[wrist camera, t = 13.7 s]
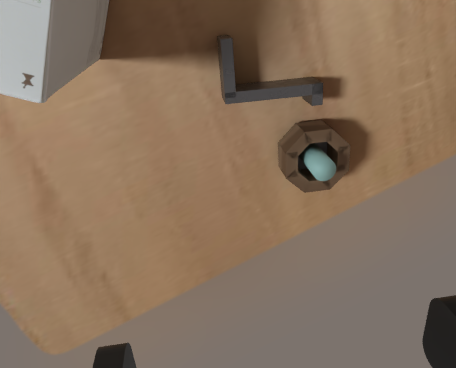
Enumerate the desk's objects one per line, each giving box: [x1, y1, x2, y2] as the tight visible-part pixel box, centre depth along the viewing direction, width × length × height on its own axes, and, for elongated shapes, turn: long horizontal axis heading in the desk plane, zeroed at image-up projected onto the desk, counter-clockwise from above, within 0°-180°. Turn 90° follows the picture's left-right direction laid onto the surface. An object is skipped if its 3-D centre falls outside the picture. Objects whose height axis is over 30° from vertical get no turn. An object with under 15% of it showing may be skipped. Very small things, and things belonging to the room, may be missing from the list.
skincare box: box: [0, 0, 109, 103], centre depth 26 cm, size 8×7×16 cm
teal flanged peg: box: [298, 142, 336, 181], centre depth 39 cm, size 5×5×6 cm
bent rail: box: [217, 35, 323, 106], centre depth 36 cm, size 6×9×3 cm
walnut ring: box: [278, 120, 350, 193], centre depth 39 cm, size 6×6×3 cm
